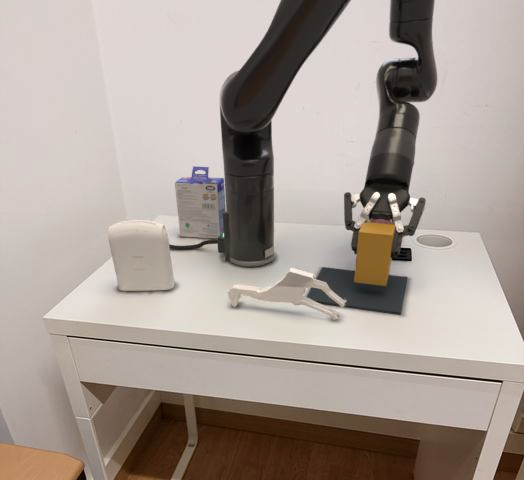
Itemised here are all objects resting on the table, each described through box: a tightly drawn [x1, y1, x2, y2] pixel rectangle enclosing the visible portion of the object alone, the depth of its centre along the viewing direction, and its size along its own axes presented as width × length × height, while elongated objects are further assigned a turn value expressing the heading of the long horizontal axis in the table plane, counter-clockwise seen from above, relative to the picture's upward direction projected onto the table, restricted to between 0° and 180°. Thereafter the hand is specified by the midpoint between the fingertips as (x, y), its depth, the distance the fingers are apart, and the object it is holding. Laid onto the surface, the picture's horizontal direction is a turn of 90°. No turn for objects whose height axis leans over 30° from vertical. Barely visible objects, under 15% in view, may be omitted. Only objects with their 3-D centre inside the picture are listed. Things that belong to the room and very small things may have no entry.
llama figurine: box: [227, 267, 347, 321], centre depth 78 cm, size 2×11×18 cm
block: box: [354, 222, 395, 286], centre depth 81 cm, size 5×5×9 cm
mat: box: [306, 266, 408, 316], centre depth 86 cm, size 16×14×1 cm
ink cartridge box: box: [174, 166, 226, 240], centre depth 106 cm, size 10×6×14 cm, turn 78°
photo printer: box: [107, 219, 176, 292], centre depth 84 cm, size 10×4×12 cm, turn 89°
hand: (374, 254), depth 81 cm, fingers closed on block, 5 cm apart
